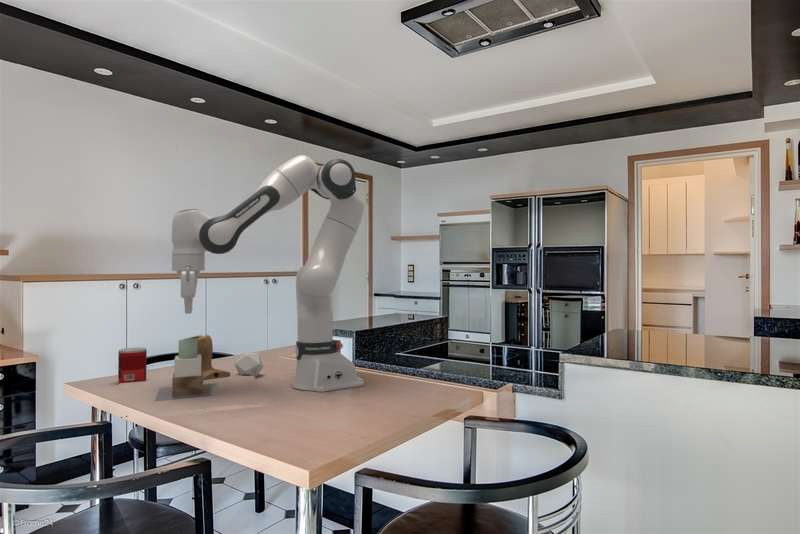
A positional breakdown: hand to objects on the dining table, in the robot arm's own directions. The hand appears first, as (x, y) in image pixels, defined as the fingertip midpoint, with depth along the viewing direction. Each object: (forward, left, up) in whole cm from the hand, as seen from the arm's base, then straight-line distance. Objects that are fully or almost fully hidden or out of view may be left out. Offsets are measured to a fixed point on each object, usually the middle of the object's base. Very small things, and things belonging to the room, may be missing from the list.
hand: (188, 312), depth 141 cm
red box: (+17, -25, -25) cm, 39 cm away
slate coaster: (0, 0, -24) cm, 24 cm away
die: (-19, -20, -25) cm, 37 cm away
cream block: (0, 0, -18) cm, 18 cm away
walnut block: (0, 0, -23) cm, 23 cm away
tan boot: (-4, -21, -25) cm, 33 cm away
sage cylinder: (0, 0, -13) cm, 13 cm away
